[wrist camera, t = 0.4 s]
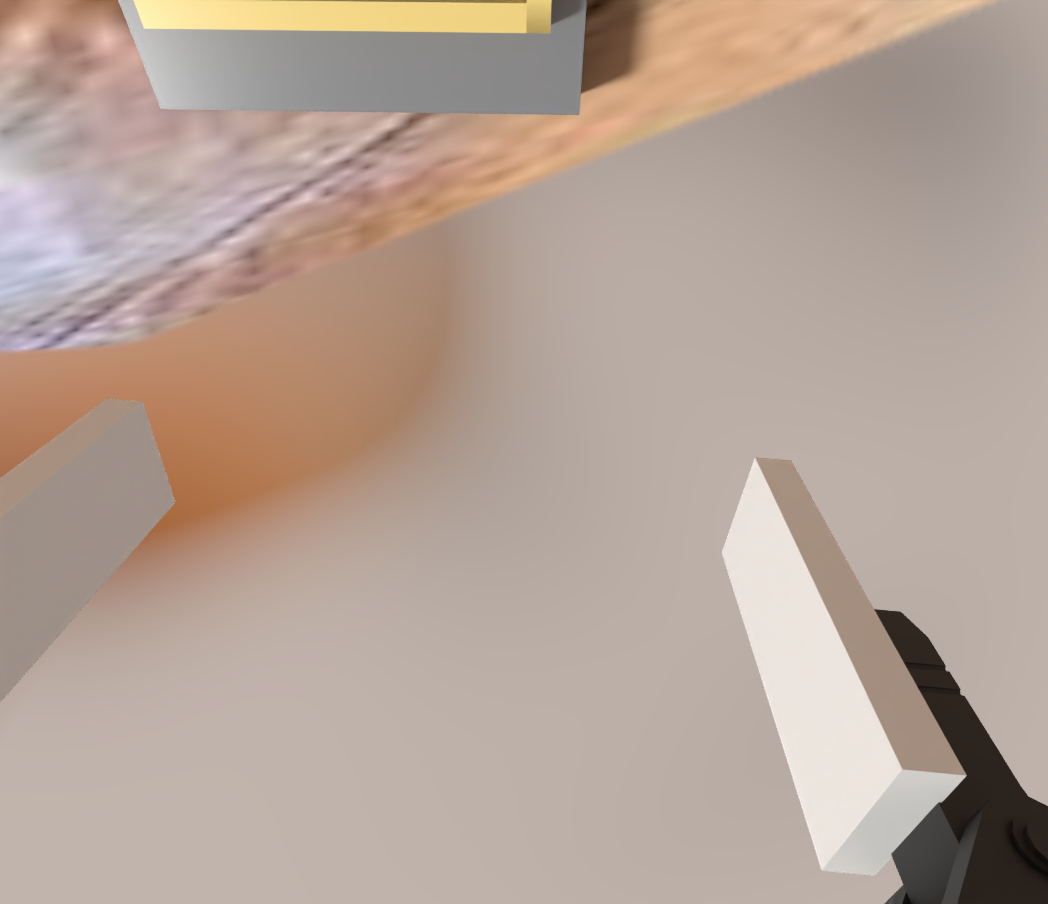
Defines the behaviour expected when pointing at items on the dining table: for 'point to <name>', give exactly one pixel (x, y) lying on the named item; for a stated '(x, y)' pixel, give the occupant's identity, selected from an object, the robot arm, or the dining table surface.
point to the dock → (363, 54)
